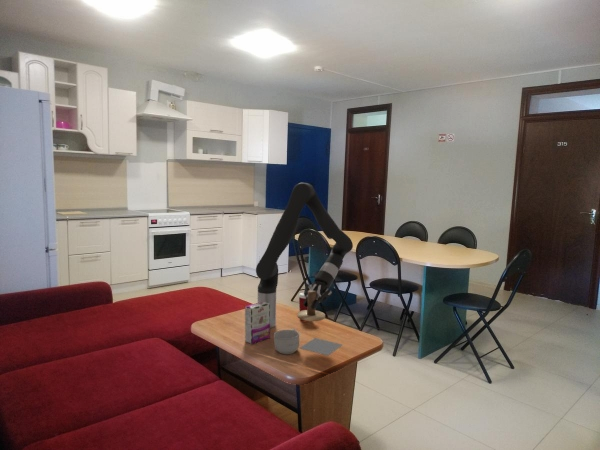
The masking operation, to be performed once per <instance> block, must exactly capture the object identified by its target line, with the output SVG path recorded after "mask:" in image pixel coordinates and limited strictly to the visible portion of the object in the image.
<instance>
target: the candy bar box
mask: <svg viewBox="0 0 600 450" xmlns="http://www.w3.org/2000/svg"><path fill="white" fill-rule="evenodd" d="M244 329H245V330H244V334H245V335H244V338H245V339H244V341H245V342H246V343H247V342H248V344H250V345H253V344H257V343H259V342H262V341H265V340H268V339H270V338H271V335H270V334H271V333H270V332H271V328H270V303H267V302H259V303H258V302H256V303H253V304H249V305H246V306H244Z"/></svg>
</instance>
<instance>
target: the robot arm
mask: <svg viewBox="0 0 600 450" xmlns="http://www.w3.org/2000/svg"><path fill="white" fill-rule="evenodd" d="M305 206H306V207H308V209H309V210H310V211H311V212H312V214H313V216H314V218H315V220H316V222H317V225H318V227H319V228H320V229H321V231H322V232H323V234H324V235H325V236H326V238H327V239H329V240H333V241H334V242H335V243H334V244H333V246H332V248H331V250H330V253H329V256H328V257H327V258H326V260H325V261H324V264H322V266H321V268H320V269H319V271H318V273H317V275H316V276H315V278H314V281H313V282H312V284H308V283H306V284H305V287H304V295H305V297H306V299H305V301H304V302H303V305H304V307H307V300H308V291H310V290H313V291H316V300H314V301H313V303H312V305H311V308H312V309H315V308H316V309H317V307H318V305H319V304H320V303H324V302H326V301H327V299H328V298H330V297H331V296H332V294H333V292H332V290H331V289H330V288H331V286H332V284H333V283H334V280H335V279H336V277H337V275H338V272H339V271H340V269H341V267H342V265H343V262H344V261H343V259H344V257H346V255H347V254H349V253H350V252H351V251H352V250H353V247H354V245H353V242H352V239H351V238H350V236H348V235H347V234H346V233H345V232H344V231H343V230H341V228H340V227H339V226H338V225H337V223H336V222H335V220H334V219H333V218H332V216H331V215H330V214H329V213H328V210H326V208H325V206H324V205H323V204H322V201H321V199H320V198H319V196H318V194H317V192H316V190H315V188H314V186H313V185H312V184H311V183H308V182H299V183H297V184H295V185H294V187H293V189H292V191H291V194H290V195H289V200H288V202H287V205H286V207H285V209H284V210H283V213H282V214H281V216H280V219H279V220H278V223H277V225H276V226H275V229H274V231H273V234H272V235H271V237H270V240H269V242H268V245H267V247H266V249H265V252H264V253H263V255H262V257H261V258H260V259H259V261H258V262H257V265H256V268H255V274H256V276H257V278H258V279H260V280H259V283H258V285H257V303H259V302H267V303H270V329H271V328H274V327H275V326H276V325H277V288H278V285H279V284H278V283H279V265H278V260H279V258H280V256H281V255H282V254H283V252H284V251H285V249H287V248H288V245H289V244H290V243H291V241H292V239H293V237H294V235H295V233H296V230H297V228H298V223H299V217H300V214H301V212H302V210H303V209H304V207H305Z"/></svg>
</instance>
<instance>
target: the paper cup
mask: <svg viewBox="0 0 600 450" xmlns="http://www.w3.org/2000/svg"><path fill="white" fill-rule="evenodd" d="M305 299H306V297H305V295H304V292H300V293H299V294H298V300H299V301H298V302H299V311H303V310H307V307H304V305H303V302H304V301H305ZM299 320H300V321H301V322H304V323H307V322H310V321H305V320H301V319H299Z"/></svg>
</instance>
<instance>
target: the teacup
mask: <svg viewBox="0 0 600 450" xmlns="http://www.w3.org/2000/svg"><path fill="white" fill-rule="evenodd" d="M273 340H274V341H273V344H274V349H275V350H276V351H277V352H278V353H280V354H282V355H291V354H294V353H296V351H298V350H299V349H300V333H299V331H298V330H296V329H295V328H291V329H281V330H277V331H275V332H274V333H273Z"/></svg>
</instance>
